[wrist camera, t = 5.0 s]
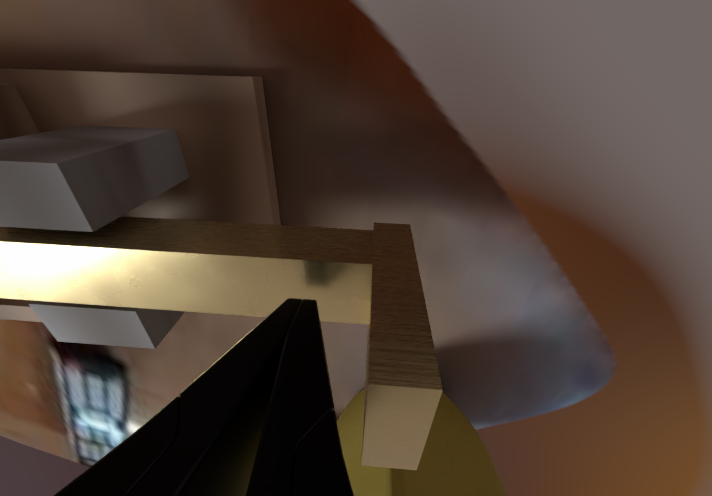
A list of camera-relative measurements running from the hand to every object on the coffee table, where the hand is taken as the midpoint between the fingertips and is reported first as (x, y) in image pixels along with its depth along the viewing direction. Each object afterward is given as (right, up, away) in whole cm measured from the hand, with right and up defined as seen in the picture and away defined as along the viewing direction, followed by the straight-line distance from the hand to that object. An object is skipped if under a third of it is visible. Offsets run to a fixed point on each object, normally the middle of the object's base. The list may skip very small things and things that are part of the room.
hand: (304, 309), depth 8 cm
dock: (-13, +4, +7) cm, 15 cm away
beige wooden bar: (-4, +2, +3) cm, 5 cm away
